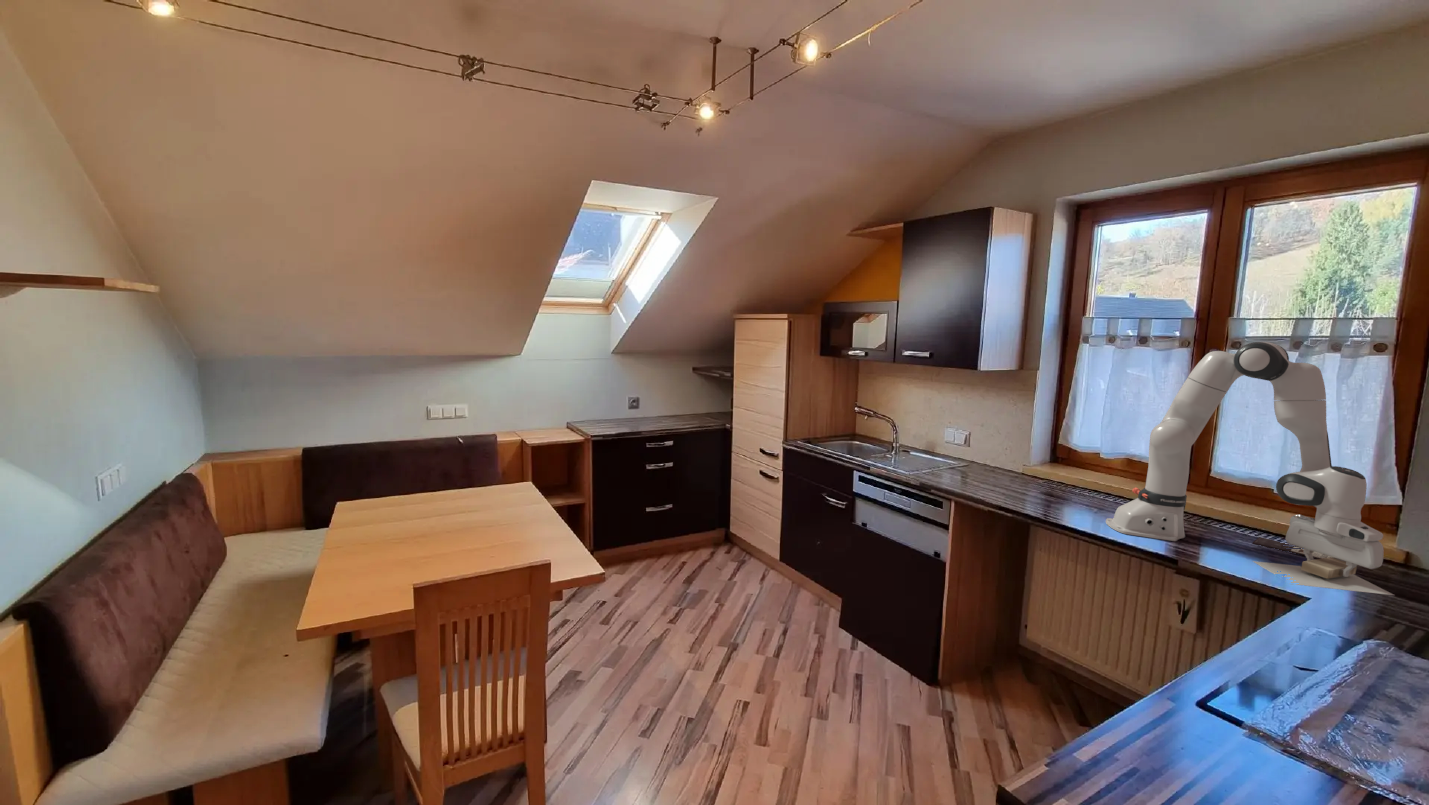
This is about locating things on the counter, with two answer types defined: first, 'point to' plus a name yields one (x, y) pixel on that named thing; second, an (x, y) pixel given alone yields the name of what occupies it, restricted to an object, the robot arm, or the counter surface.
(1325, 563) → the birch box
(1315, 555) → the chocolate bar
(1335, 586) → the mat
